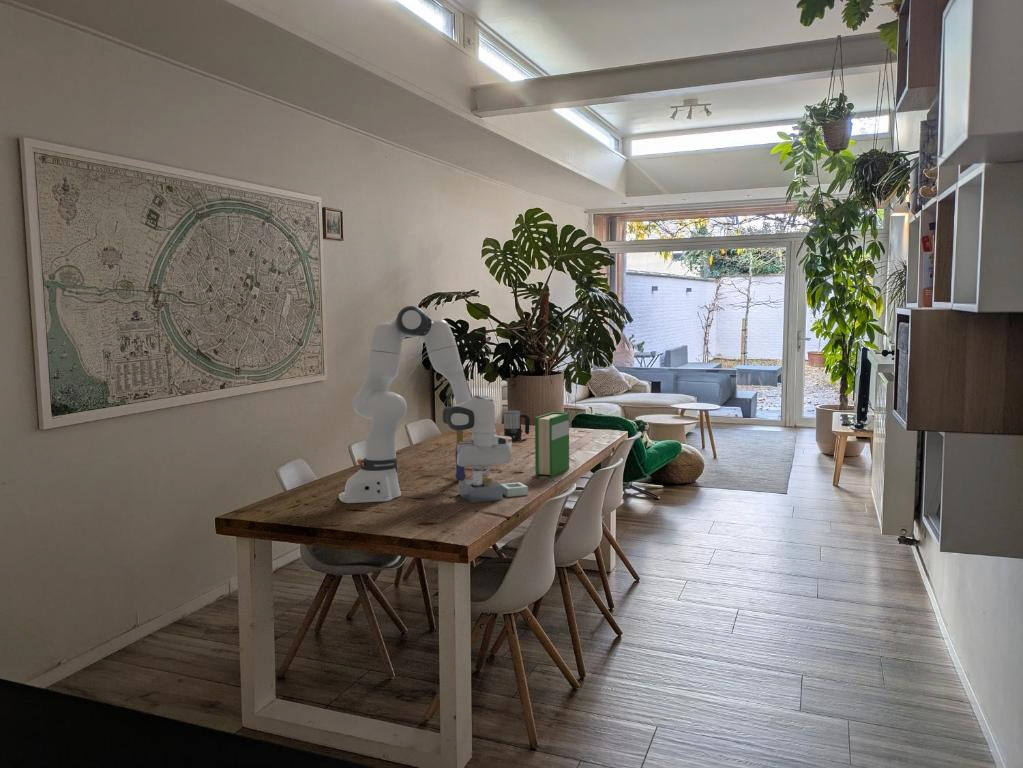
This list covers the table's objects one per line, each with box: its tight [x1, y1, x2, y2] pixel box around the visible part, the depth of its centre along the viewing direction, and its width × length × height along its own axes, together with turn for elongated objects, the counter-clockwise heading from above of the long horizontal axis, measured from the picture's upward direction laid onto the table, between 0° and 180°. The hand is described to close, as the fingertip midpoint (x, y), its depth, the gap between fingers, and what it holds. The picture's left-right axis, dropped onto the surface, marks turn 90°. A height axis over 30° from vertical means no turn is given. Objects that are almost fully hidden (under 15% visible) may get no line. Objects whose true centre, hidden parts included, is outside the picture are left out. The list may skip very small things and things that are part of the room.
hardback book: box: [534, 411, 570, 478], centre depth 320 cm, size 18×7×24 cm, turn 153°
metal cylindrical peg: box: [472, 465, 483, 487], centre depth 276 cm, size 4×4×12 cm
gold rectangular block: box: [482, 475, 493, 482], centre depth 285 cm, size 4×4×6 cm
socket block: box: [458, 479, 504, 504], centre depth 280 cm, size 12×14×5 cm
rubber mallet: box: [442, 405, 466, 482], centre depth 305 cm, size 12×8×30 cm, turn 77°
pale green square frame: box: [499, 481, 529, 498], centre depth 285 cm, size 8×8×3 cm
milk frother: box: [502, 410, 531, 442], centre depth 405 cm, size 14×16×15 cm
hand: (484, 476), depth 284 cm, fingers closed
